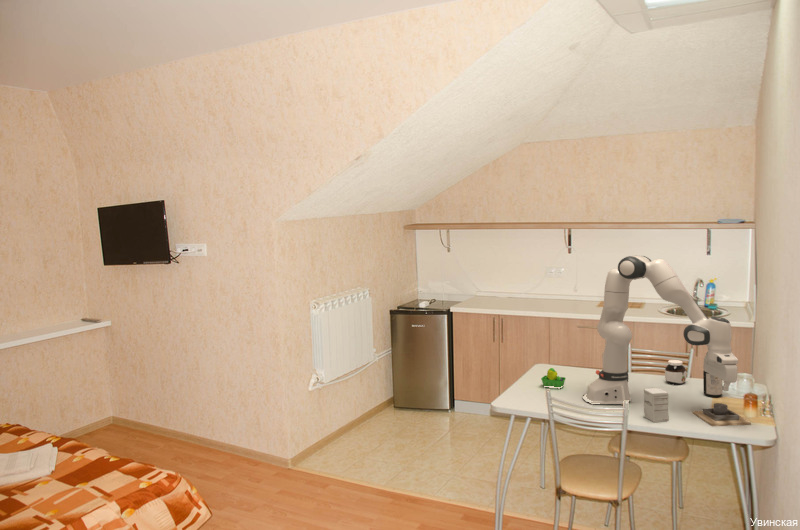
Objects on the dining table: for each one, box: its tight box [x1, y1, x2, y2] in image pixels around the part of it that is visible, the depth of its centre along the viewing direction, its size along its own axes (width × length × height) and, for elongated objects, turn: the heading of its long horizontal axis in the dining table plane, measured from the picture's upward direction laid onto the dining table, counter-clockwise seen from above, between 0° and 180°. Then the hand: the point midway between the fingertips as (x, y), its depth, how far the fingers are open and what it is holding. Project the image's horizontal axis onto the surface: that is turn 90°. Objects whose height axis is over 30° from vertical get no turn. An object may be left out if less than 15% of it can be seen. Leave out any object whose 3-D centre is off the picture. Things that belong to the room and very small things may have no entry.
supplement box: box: [643, 387, 669, 423], centre depth 241 cm, size 7×7×13 cm
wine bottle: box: [702, 370, 723, 398], centre depth 269 cm, size 8×8×30 cm
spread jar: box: [664, 359, 687, 386], centre depth 295 cm, size 12×11×12 cm
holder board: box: [692, 407, 752, 427], centre depth 238 cm, size 16×16×3 cm
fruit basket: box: [540, 367, 566, 387], centre depth 295 cm, size 11×9×11 cm
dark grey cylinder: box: [712, 402, 729, 416], centre depth 238 cm, size 5×5×5 cm
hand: (719, 387), depth 237 cm, fingers open, 8 cm apart
